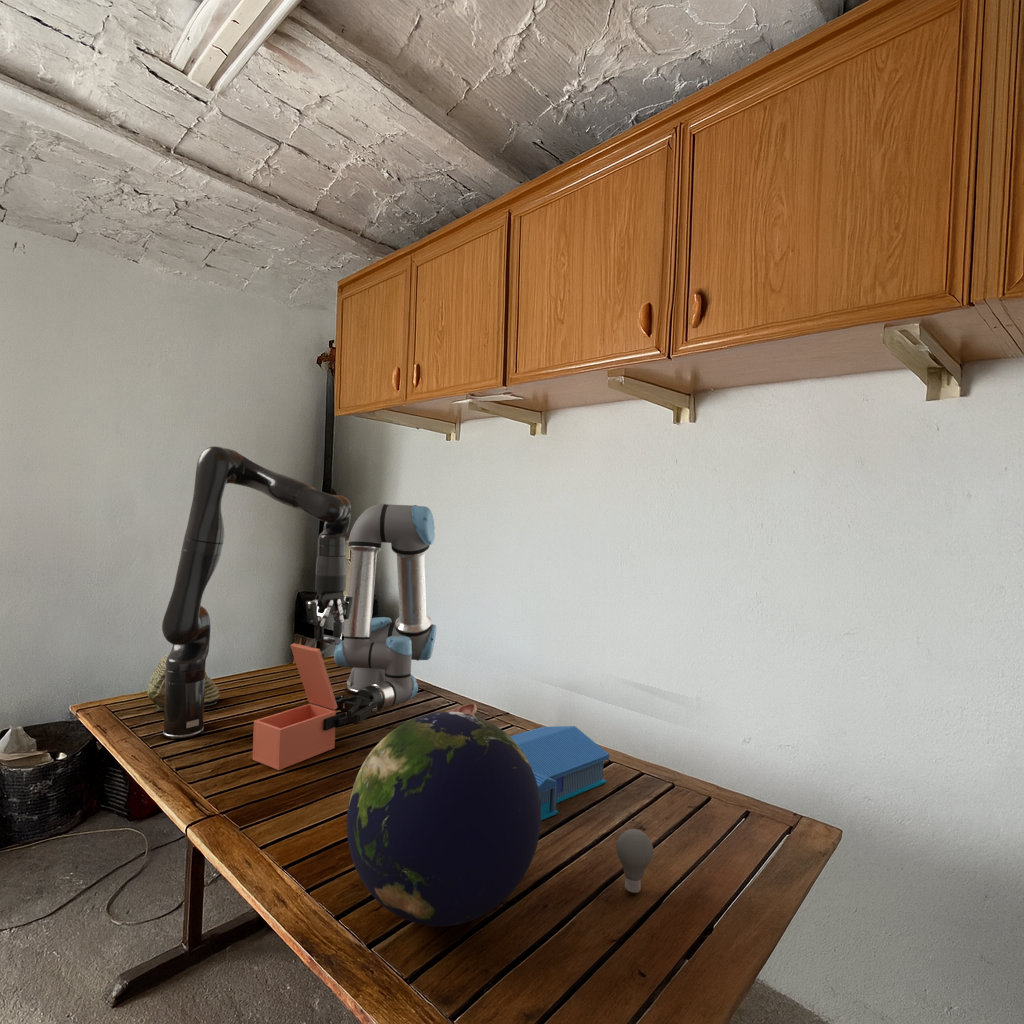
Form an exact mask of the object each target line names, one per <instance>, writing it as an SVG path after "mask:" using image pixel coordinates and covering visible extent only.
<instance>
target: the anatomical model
mask: <svg viewBox="0 0 1024 1024" xmlns="http://www.w3.org/2000/svg"><path fill="white" fill-rule="evenodd" d="M477 709H478V708H477V705H476V703H473V702H472V703H466V704H463V705H460V706H456V707H454V708H452V709H448V710H445V711H444V712H461V713H466V714H470V715H474V716H475V714H476V713H477Z"/></svg>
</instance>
